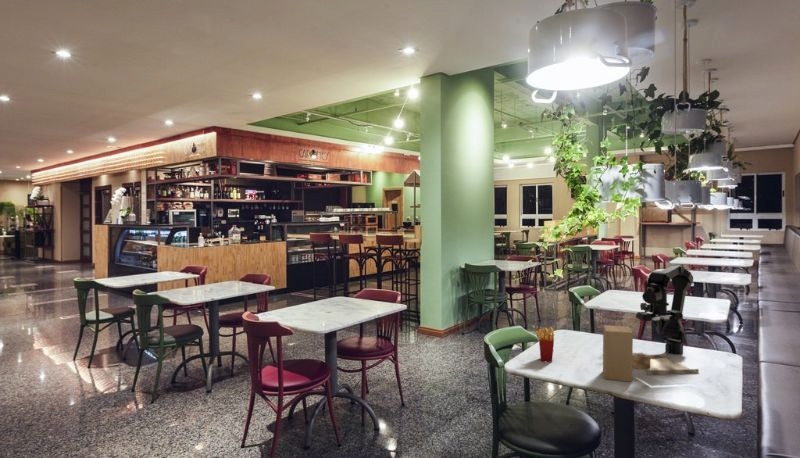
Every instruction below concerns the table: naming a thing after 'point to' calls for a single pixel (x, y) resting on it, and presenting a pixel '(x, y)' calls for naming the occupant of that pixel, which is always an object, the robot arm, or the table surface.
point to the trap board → (666, 366)
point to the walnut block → (640, 361)
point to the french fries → (546, 344)
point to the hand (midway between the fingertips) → (659, 334)
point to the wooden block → (617, 353)
